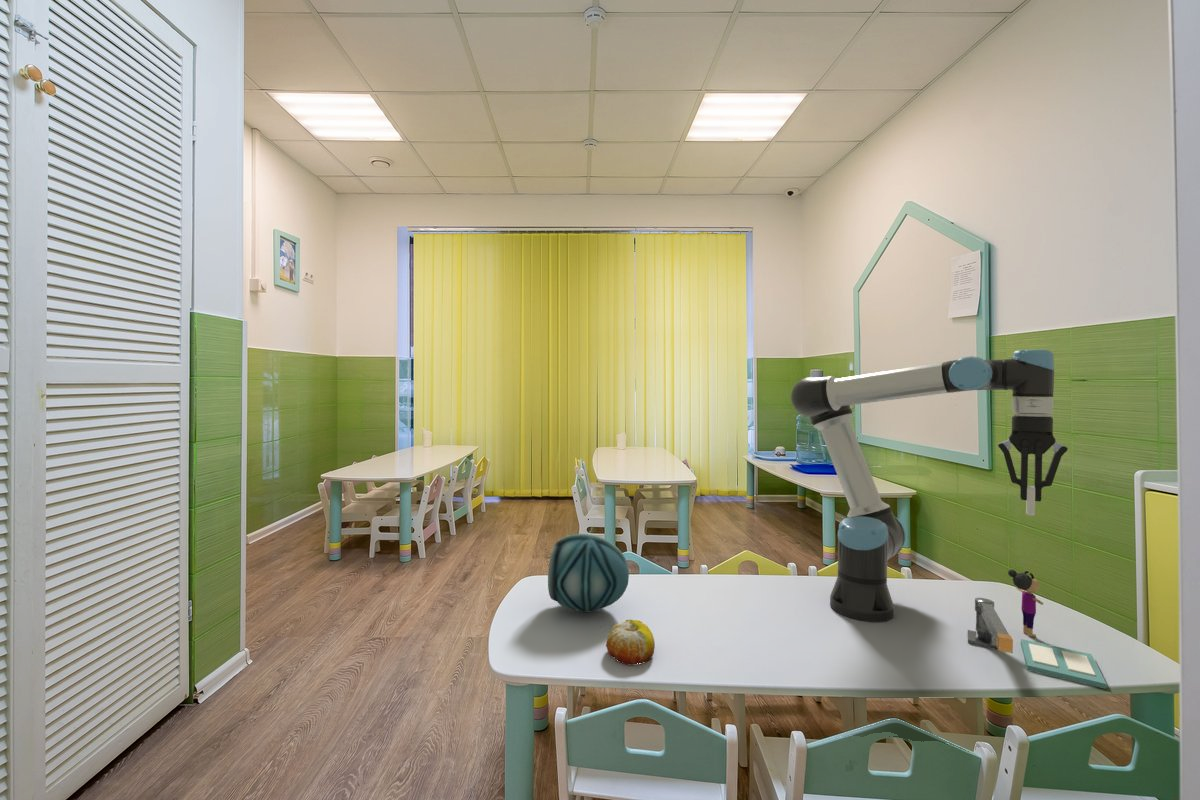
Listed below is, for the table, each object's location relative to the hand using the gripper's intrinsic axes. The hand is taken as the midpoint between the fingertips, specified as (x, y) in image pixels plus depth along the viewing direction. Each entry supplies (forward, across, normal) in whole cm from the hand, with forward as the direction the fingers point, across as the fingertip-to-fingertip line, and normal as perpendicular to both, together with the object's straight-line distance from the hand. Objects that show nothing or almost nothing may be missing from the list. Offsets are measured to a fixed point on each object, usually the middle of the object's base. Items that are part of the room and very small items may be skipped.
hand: (1030, 514), depth 124 cm
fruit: (+29, -70, -66) cm, 100 cm away
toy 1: (+29, -91, -54) cm, 109 cm away
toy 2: (+29, -1, -1) cm, 29 cm away
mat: (+29, +5, -14) cm, 32 cm away
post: (+29, -8, -11) cm, 32 cm away
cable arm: (+22, -7, -21) cm, 31 cm away
